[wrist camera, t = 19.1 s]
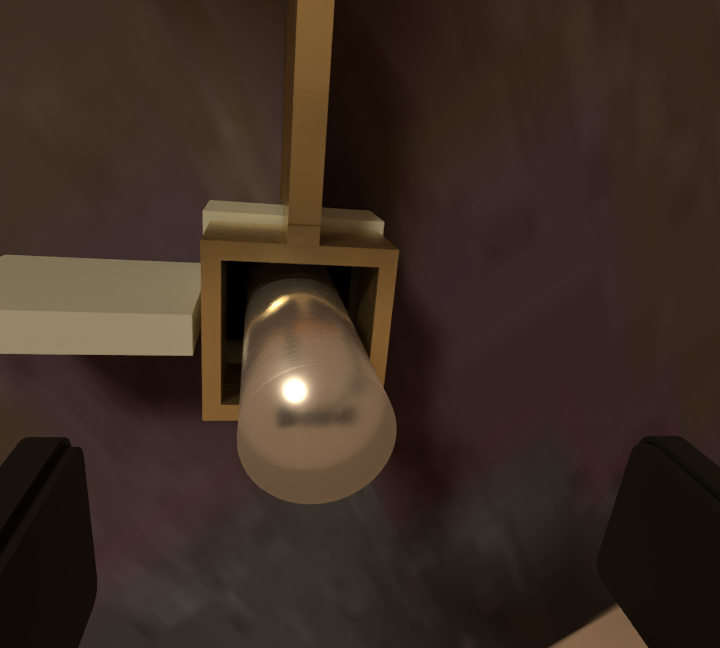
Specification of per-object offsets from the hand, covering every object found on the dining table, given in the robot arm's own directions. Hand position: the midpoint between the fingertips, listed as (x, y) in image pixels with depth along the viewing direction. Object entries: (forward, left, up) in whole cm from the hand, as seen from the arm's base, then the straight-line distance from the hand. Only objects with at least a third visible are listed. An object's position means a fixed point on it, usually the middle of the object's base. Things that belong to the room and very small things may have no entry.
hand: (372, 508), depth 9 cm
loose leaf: (+5, +1, -16) cm, 17 cm away
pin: (+1, +1, -16) cm, 16 cm away
